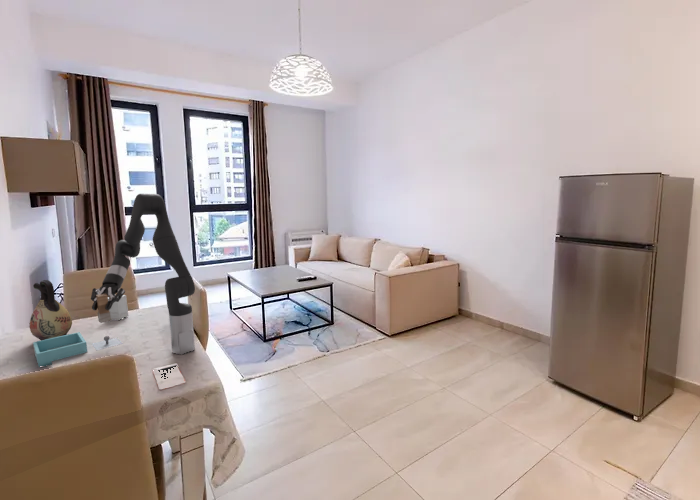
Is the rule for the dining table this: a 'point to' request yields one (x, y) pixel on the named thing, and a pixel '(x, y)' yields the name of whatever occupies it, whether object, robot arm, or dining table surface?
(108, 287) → the robot arm
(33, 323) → the ceramic jug
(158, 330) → the dining table surface
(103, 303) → the walnut strut
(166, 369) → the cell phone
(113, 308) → the supplement box
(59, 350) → the teal bin
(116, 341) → the stud plate
